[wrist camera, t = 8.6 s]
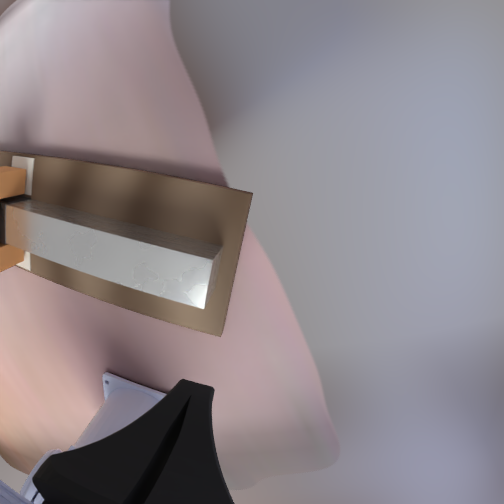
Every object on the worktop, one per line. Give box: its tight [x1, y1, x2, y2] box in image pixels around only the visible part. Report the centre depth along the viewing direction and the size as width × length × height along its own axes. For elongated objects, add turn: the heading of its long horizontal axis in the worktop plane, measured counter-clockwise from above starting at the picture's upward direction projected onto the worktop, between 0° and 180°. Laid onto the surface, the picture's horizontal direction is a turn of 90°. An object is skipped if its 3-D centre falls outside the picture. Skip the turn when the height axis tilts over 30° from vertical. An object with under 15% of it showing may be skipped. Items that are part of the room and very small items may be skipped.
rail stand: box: [0, 151, 253, 337], centre depth 19 cm, size 26×10×4 cm, turn 78°
